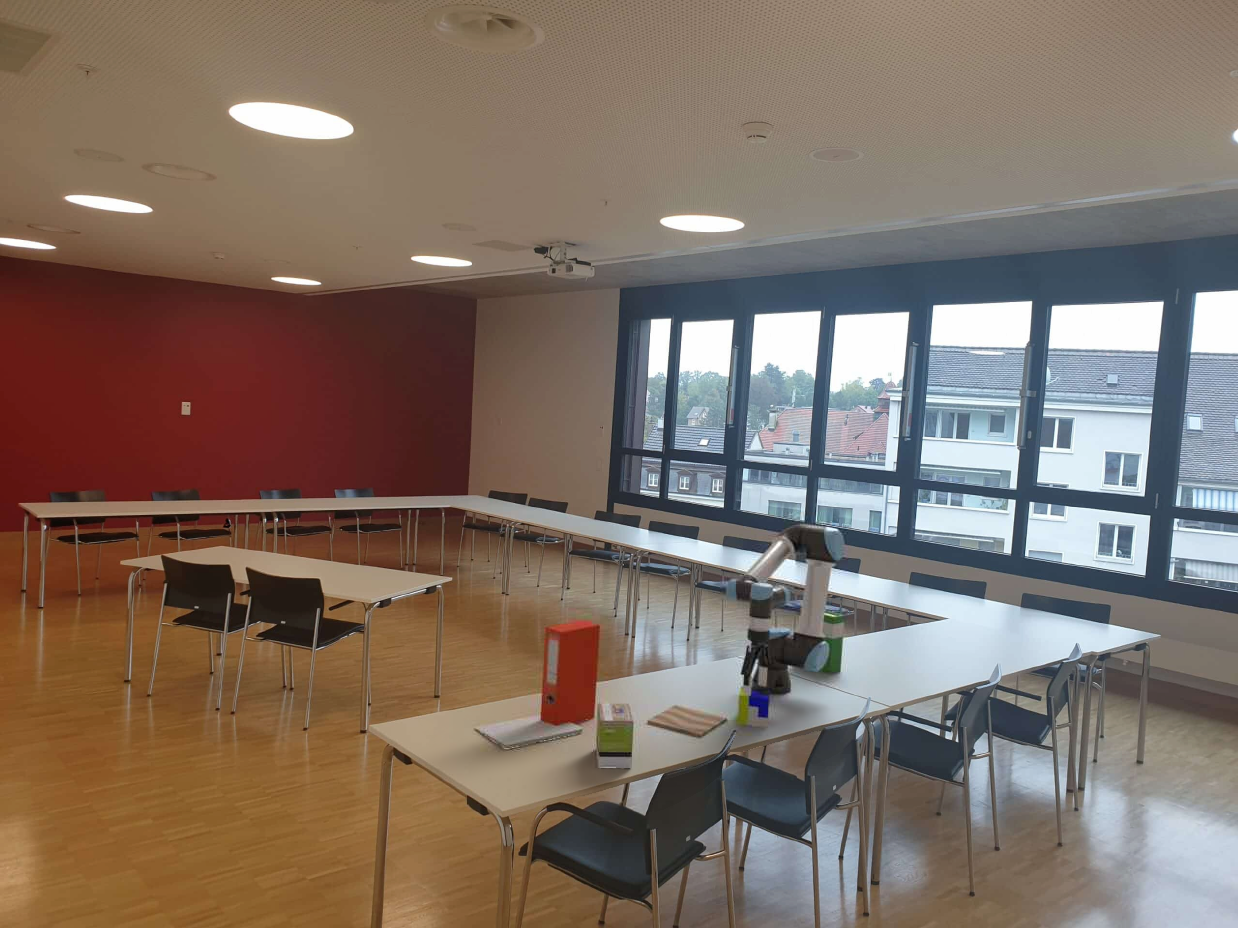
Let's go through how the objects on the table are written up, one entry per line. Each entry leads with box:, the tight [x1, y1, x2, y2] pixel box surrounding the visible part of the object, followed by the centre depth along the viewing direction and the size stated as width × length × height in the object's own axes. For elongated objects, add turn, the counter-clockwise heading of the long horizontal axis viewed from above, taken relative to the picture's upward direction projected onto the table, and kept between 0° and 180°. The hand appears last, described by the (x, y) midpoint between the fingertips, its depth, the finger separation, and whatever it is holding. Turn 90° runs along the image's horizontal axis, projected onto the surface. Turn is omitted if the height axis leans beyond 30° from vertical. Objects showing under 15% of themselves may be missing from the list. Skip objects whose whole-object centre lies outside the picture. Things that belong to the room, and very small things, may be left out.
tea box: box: [595, 702, 634, 769], centre depth 262 cm, size 15×10×15 cm, turn 5°
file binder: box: [540, 619, 601, 726], centre depth 292 cm, size 8×17×32 cm, turn 136°
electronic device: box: [474, 714, 584, 748], centre depth 281 cm, size 29×20×2 cm
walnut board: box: [647, 704, 728, 738], centre depth 298 cm, size 20×20×1 cm
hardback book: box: [797, 607, 845, 675], centre depth 371 cm, size 18×7×24 cm, turn 40°
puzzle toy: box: [736, 686, 771, 728], centre depth 302 cm, size 10×10×10 cm
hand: (754, 689), depth 301 cm, fingers open, 13 cm apart
